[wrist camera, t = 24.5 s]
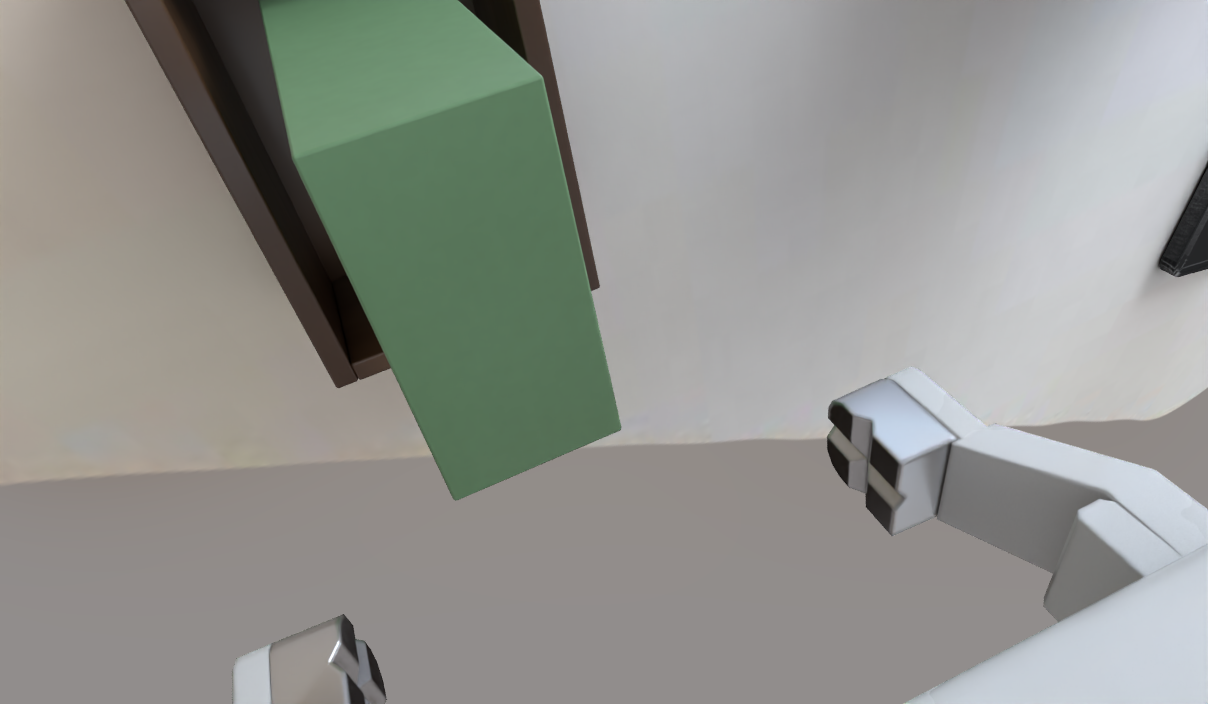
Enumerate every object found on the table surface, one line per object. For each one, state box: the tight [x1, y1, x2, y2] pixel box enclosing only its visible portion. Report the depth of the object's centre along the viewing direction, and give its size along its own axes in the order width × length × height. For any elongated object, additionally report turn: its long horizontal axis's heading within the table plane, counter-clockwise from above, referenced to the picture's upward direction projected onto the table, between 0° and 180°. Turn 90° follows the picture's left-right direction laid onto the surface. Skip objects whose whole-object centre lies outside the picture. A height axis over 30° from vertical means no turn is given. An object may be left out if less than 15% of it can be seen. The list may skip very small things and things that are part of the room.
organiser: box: [125, 0, 600, 388], centre depth 26 cm, size 10×15×7 cm
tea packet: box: [258, 0, 621, 500], centre depth 22 cm, size 4×16×9 cm
